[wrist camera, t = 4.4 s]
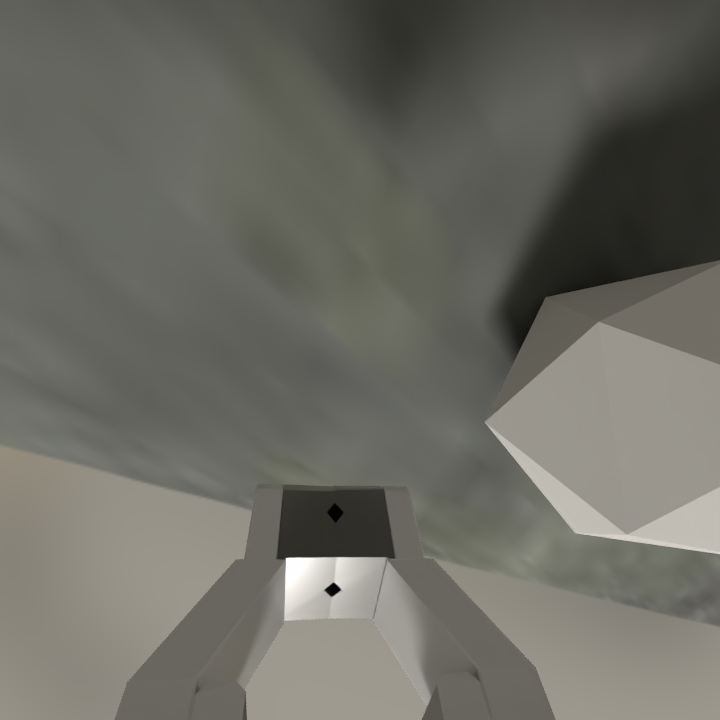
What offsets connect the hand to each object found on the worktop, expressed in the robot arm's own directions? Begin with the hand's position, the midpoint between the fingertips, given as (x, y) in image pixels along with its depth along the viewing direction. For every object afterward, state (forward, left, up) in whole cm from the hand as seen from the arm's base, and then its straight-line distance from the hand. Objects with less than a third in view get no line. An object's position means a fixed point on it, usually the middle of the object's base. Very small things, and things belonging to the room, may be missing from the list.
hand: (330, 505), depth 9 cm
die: (-10, 0, -8) cm, 13 cm away
